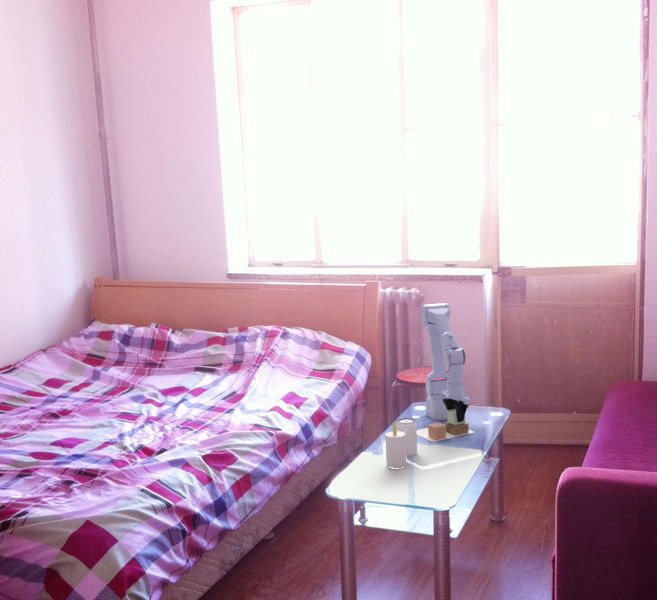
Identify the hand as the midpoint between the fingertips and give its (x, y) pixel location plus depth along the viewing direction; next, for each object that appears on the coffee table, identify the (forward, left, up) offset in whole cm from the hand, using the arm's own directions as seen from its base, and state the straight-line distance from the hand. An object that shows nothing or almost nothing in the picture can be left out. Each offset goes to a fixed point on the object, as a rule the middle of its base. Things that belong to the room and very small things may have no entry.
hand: (456, 419), depth 272 cm
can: (+8, -26, -6) cm, 28 cm away
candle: (+14, -34, -6) cm, 37 cm away
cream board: (-3, -4, -5) cm, 7 cm away
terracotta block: (+1, -9, -4) cm, 10 cm away
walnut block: (0, 0, -4) cm, 4 cm away
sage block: (0, 0, -1) cm, 1 cm away
